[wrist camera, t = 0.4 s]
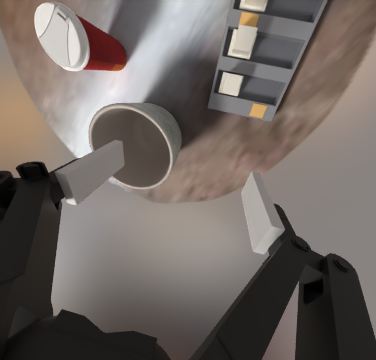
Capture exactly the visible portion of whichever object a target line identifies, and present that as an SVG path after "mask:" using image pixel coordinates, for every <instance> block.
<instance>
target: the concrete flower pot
mask: <svg viewBox="0 0 376 360" xmlns="http://www.w3.org/2000/svg"><path fill="white" fill-rule="evenodd" d="M114 140H118V141H122V142H123V153H124V164H125V165H124V166H123V167H122V168H121V169H119V170H118V171H117V172H116V173H115V174H114V175H112V176H111V177H112V178H113V179H114V180H116V181H117V182H119V183H121V184H123V185H125V186H128V187H131V188H135V189H151V188H154V187H157V186H159V185H161V184H162V183H163V182H165V181H166V180H167V178H168V177H169V175H170V174H171V172H172V169H173V167H174V164H175V162H176V159H177V157H178V154H179V152H180V148H181V142H182V137H181V131H180V128H179V125H178V123H177V121H176V120H175V118H174V117H173V116H172V115H171V114H170V113H169V112H168V111H167V110H165V109H164V108H162V107H160V106H158V105H155V104H151V103H116V104H111V105H108V106H105V107H103V108H102V109H100V110H99V111H98V112H97V113H96V114H95V115H94V117H93V118H92V121H91V123H90V126H89V143H90V147H91V150H92V152H93V151H95V150H97V149H99V148H101V147H103V146H104V145H106V144H108V143H110V142H112V141H114Z"/></svg>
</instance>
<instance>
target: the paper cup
mask: <svg viewBox="0 0 376 360" xmlns="http://www.w3.org/2000/svg"><path fill="white" fill-rule="evenodd" d="M34 22H35V29H36V33H37V36H38V39H39V41H40V43H41V44H42V46H43V48H44V50H45V51H46V52H47V54H48V55H49V56H50V57H51V58H52V59H53V60H54V61H55V62H56V63H57V64H58V65H60V66H61V67H63V68H64V69H66V70H70V71H80V70H82V69H85V70H107V71H119V70H121V69H123V68H124V66H125V64H126V53H125V50H124V48H123V46H122V44H121V43H120V42H119V41H117V40H116V39H115V38H113V37H112V36H110V35H108V34H107V33H105V32H103V31H102V30H100V29H98V28H97V27H95V26H94V25H92V24H91V23H89V22H87V21H86V20H84V19H83V18H81V17H79V16H77V15H76V14H74V13H73V11H72V10H70V9H69V8H68V7H67V6H65V5H63V4H61V3H59V2H50V3H43V4H41V5H40V6H39V7H38V8H37V10H36V12H35V20H34Z"/></svg>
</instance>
